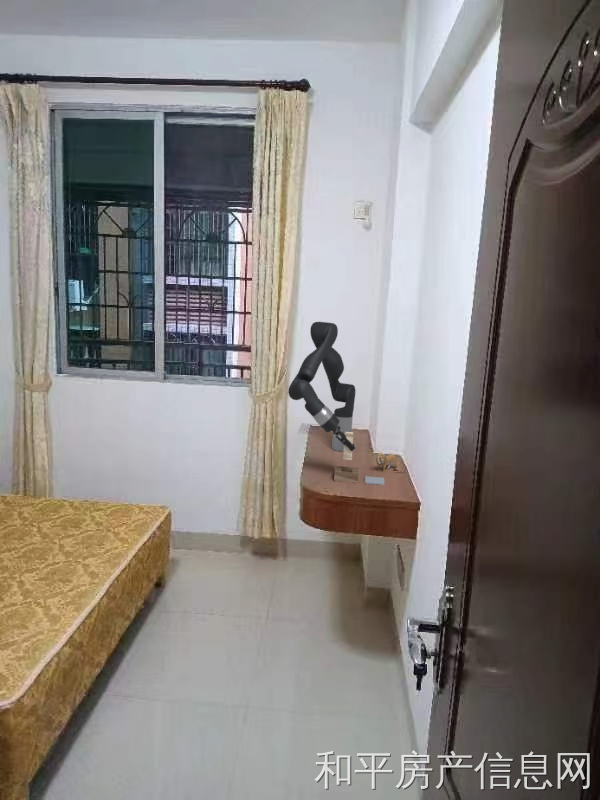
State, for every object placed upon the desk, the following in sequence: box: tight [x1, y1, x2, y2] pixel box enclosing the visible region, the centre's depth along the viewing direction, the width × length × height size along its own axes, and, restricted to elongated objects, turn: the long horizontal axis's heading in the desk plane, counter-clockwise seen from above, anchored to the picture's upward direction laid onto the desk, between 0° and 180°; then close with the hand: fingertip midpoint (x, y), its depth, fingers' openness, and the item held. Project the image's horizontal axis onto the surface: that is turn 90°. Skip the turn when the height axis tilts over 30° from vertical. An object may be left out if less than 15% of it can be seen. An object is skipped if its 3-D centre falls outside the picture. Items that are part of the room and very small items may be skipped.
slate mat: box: [364, 475, 386, 486], centre depth 250 cm, size 8×8×1 cm
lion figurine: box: [375, 452, 399, 473], centre depth 266 cm, size 15×5×9 cm, turn 137°
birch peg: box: [342, 431, 354, 461], centre depth 250 cm, size 4×4×11 cm
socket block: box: [333, 465, 360, 484], centre depth 252 cm, size 10×10×4 cm
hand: (352, 447), depth 250 cm, fingers closed on birch peg, 4 cm apart
